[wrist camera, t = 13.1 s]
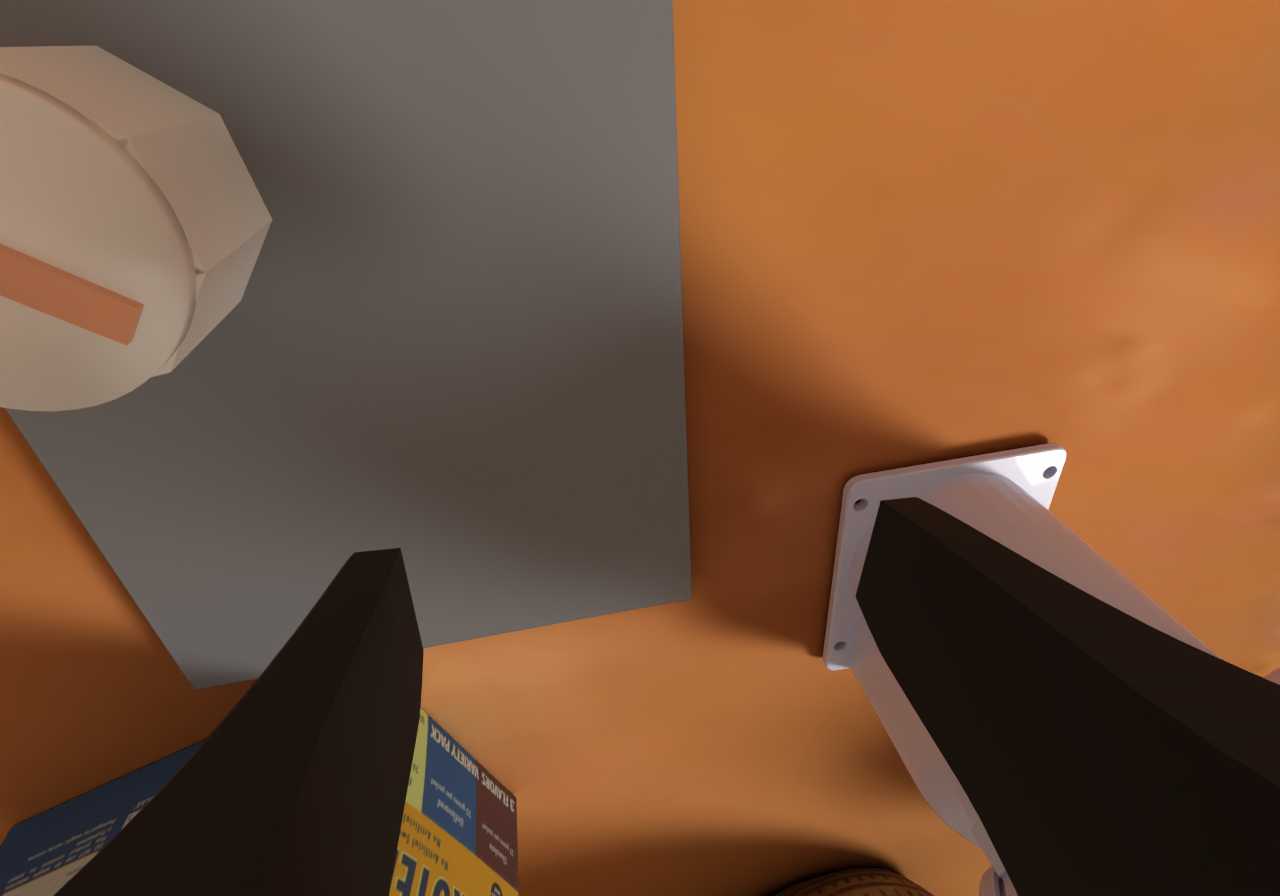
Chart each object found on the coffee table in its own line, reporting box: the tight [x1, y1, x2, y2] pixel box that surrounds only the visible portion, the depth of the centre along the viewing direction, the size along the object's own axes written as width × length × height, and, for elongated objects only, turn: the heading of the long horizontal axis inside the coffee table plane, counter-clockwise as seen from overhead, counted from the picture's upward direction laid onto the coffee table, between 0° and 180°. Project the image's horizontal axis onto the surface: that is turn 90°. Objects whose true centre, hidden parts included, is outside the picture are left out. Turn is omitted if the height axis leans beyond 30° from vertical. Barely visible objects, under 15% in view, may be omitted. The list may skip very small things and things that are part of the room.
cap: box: [0, 45, 272, 411], centre depth 11 cm, size 5×5×5 cm
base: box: [0, 0, 692, 690], centre depth 15 cm, size 20×16×4 cm
